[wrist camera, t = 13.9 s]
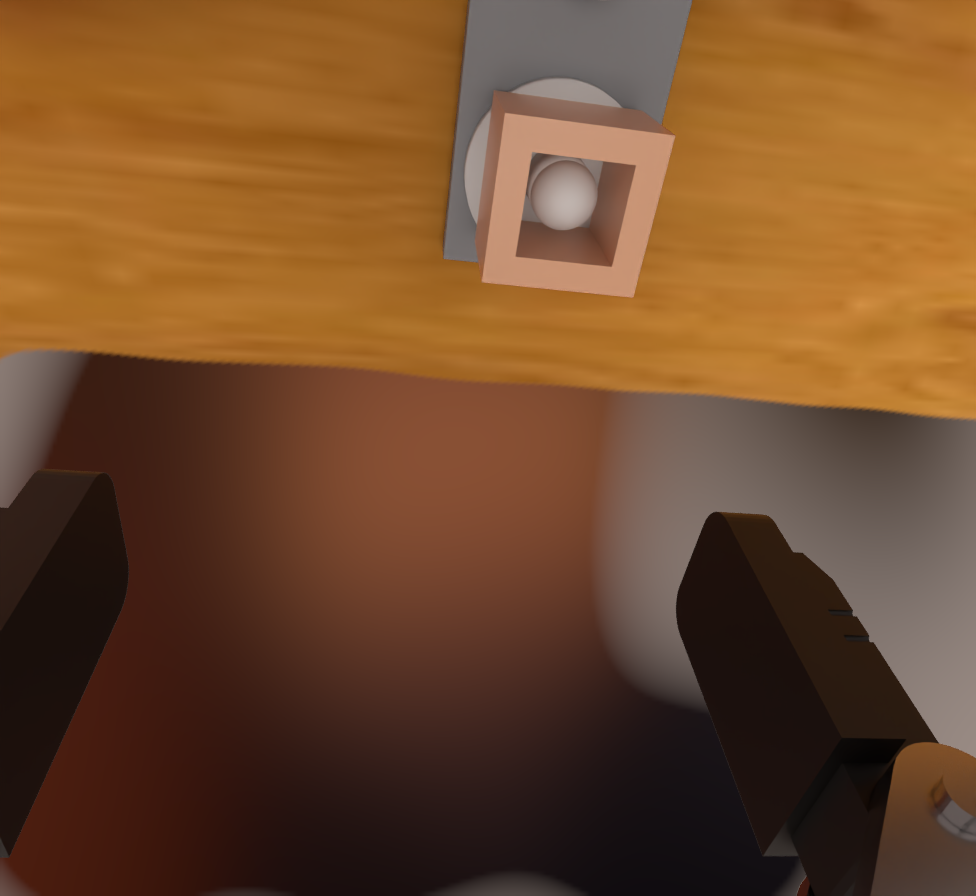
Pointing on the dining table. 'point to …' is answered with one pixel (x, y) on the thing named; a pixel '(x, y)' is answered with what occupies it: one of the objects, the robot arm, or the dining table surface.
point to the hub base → (555, 93)
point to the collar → (620, 204)
